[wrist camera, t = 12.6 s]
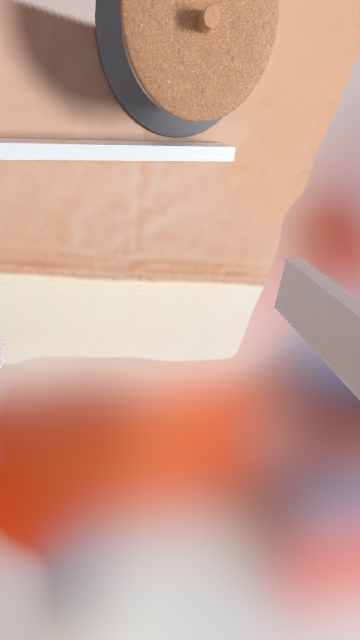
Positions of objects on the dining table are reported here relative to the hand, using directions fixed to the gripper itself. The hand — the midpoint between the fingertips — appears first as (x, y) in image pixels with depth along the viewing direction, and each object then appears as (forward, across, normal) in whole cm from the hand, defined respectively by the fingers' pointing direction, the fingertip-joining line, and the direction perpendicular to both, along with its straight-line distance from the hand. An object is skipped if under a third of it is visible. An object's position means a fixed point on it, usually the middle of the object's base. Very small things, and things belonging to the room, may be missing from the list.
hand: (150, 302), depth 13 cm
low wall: (+23, +1, +4) cm, 23 cm away
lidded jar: (+23, +7, +11) cm, 26 cm away
